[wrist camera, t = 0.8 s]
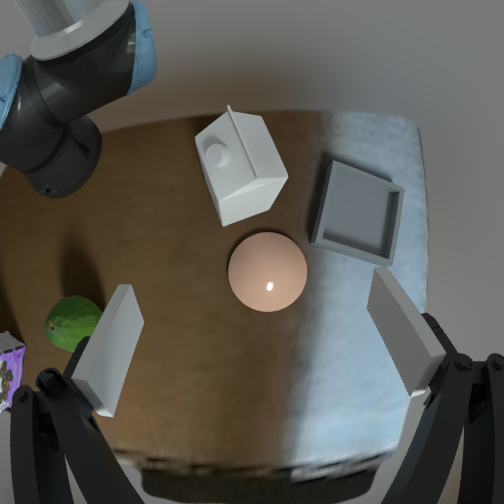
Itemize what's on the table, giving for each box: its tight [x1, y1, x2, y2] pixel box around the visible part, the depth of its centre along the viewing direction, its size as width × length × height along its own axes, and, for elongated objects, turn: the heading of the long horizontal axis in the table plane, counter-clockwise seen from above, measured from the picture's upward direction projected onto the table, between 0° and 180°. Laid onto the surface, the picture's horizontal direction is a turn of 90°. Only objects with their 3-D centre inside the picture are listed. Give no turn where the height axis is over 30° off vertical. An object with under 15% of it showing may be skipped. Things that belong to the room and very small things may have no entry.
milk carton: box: [195, 105, 288, 226], centre depth 32 cm, size 7×7×19 cm
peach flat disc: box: [228, 232, 307, 312], centre depth 41 cm, size 11×11×1 cm
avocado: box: [45, 295, 103, 352], centre depth 33 cm, size 8×8×12 cm
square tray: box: [310, 160, 404, 266], centre depth 41 cm, size 13×13×3 cm
